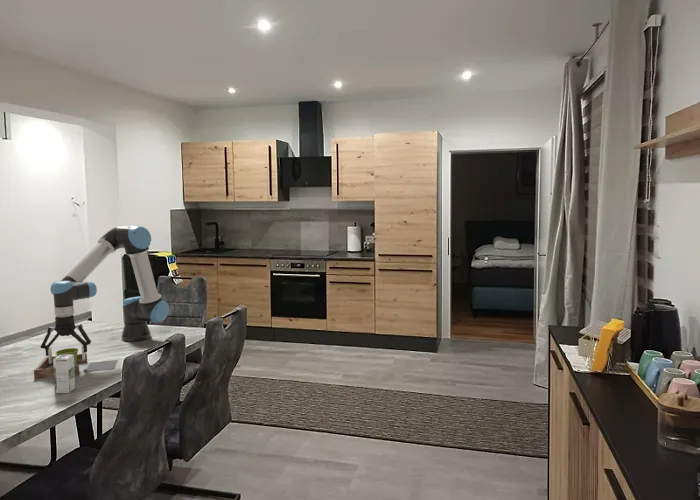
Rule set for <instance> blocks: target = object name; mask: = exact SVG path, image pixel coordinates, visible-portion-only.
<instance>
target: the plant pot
mask: <svg viewBox="0 0 700 500" xmlns="http://www.w3.org/2000/svg"><path fill="white" fill-rule="evenodd" d="M79 350H80V349H79V348H76V347H67V348H64V349H63V348H62V349H59V350H56V351H55V352H54V353H55V355H56V356H59V355H64V354H71V355H74V366H75V365H77V363H76V360H77V354H79Z"/></svg>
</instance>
